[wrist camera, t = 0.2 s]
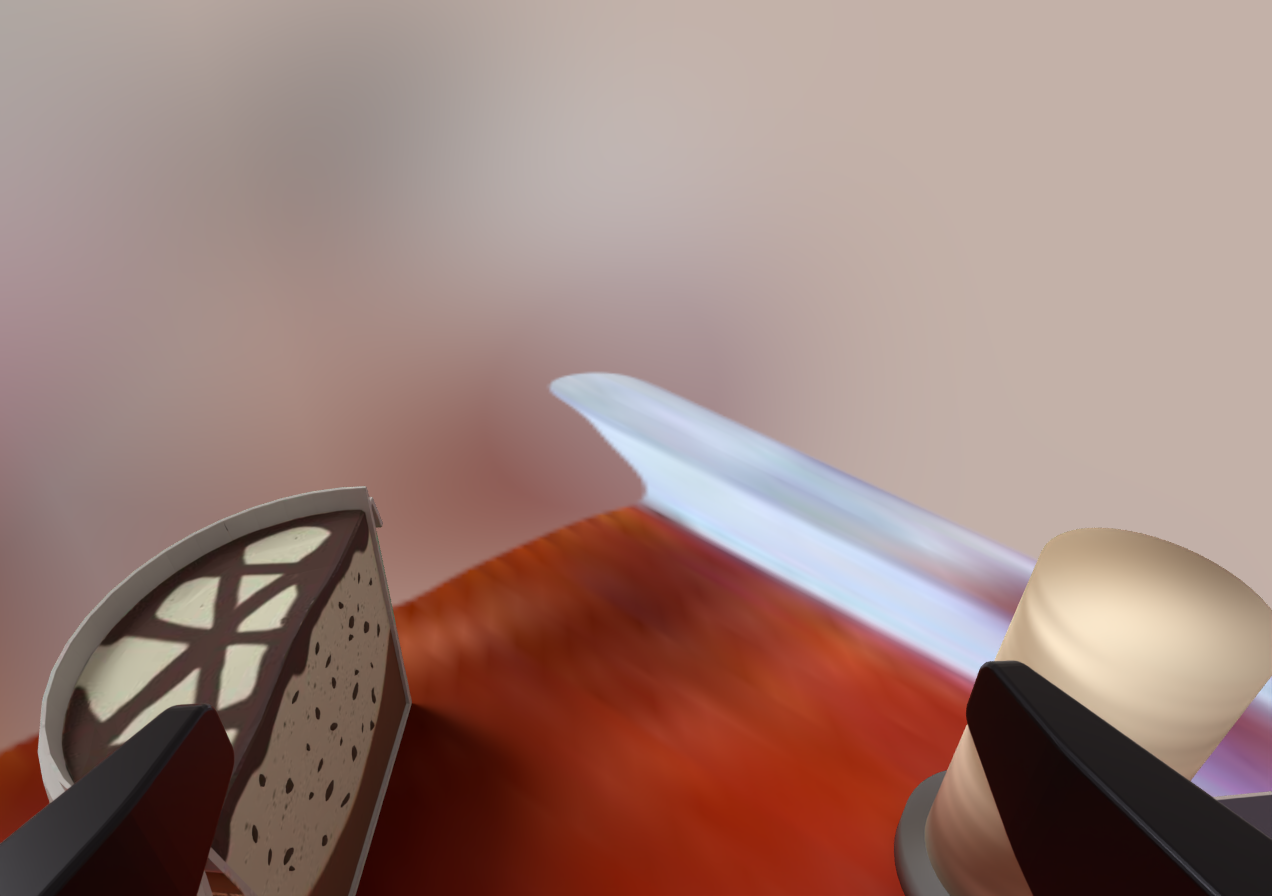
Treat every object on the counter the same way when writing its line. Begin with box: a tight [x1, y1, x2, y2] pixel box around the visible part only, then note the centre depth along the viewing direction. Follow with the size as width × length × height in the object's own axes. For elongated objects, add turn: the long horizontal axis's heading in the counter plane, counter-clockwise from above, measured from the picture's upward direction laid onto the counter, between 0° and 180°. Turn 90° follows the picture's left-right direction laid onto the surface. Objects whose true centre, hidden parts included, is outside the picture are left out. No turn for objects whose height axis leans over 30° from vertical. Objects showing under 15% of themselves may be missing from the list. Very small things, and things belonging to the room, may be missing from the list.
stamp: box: [894, 528, 1272, 896], centre depth 19 cm, size 6×6×13 cm
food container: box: [38, 486, 412, 896], centre depth 21 cm, size 12×6×10 cm, turn 1°
